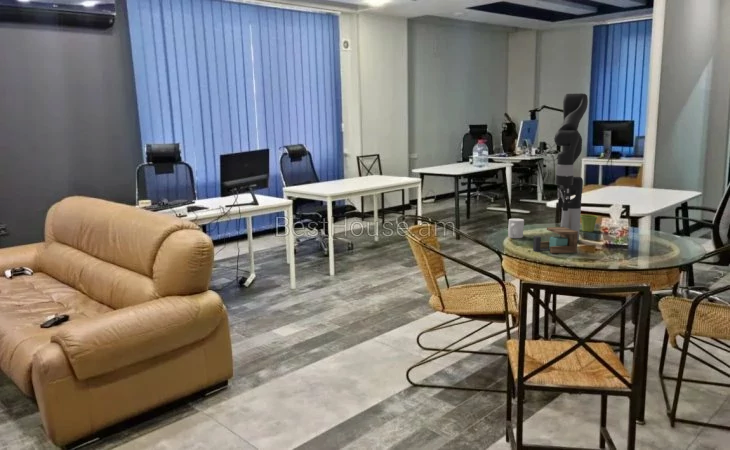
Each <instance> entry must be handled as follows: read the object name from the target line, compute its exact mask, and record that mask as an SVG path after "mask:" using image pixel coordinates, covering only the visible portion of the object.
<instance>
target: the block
mask: <svg viewBox="0 0 730 450" xmlns="http://www.w3.org/2000/svg"><path fill="white" fill-rule="evenodd" d="M541 240H542V236H540V235H538V236H537V235H535V236H533V248H532V251H533V252H543V251H550V246H567V244H568V239H567V238H564V237H562V236H560V235H559V236H550V237H549V241H550V243H549V248H540V246H541V242H542V241H541Z"/></svg>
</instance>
